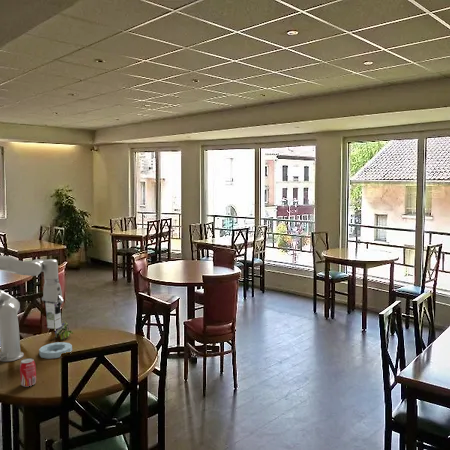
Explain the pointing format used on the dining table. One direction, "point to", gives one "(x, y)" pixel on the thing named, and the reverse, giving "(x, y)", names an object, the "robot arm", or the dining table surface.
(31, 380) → the soda can
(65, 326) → the passion flower
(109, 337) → the dining table surface
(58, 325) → the syrup box
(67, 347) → the pale blue ring
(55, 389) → the dining table surface
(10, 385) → the dining table surface
